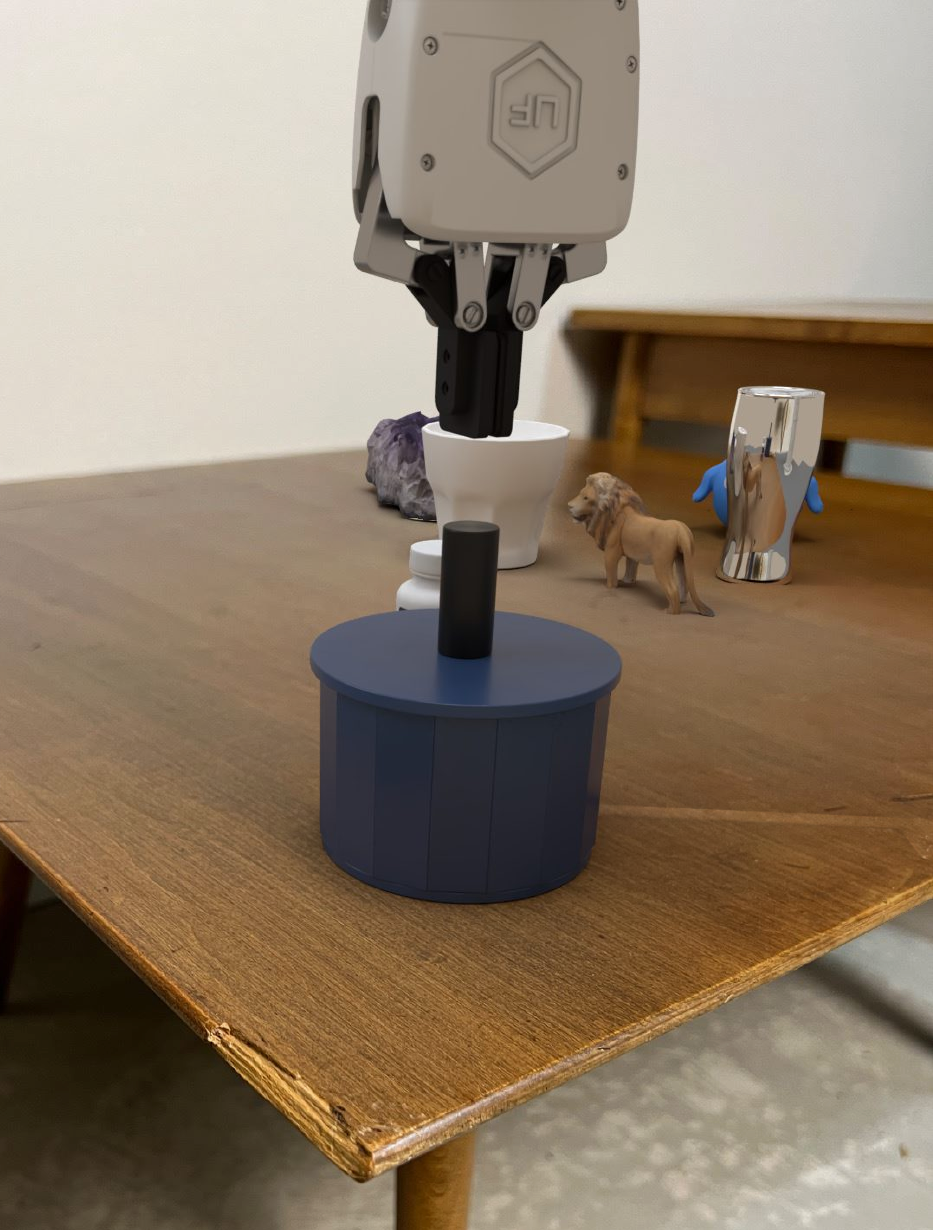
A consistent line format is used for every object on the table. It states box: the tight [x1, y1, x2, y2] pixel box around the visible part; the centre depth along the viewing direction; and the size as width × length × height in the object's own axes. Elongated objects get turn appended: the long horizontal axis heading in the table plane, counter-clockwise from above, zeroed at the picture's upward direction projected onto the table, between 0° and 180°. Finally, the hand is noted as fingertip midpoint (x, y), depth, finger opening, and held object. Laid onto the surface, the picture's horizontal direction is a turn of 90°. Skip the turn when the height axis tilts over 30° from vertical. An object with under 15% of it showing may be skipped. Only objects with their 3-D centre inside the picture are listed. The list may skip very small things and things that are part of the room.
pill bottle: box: [395, 539, 442, 611], centre depth 71 cm, size 5×5×10 cm
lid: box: [309, 520, 623, 719], centre depth 52 cm, size 14×14×7 cm
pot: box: [319, 680, 612, 904], centre depth 55 cm, size 13×13×8 cm
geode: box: [364, 410, 439, 521], centre depth 127 cm, size 20×12×10 cm, turn 7°
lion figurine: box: [567, 472, 715, 617], centre depth 93 cm, size 15×5×9 cm, turn 33°
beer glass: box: [715, 385, 826, 586], centre depth 99 cm, size 7×7×15 cm
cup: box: [422, 419, 571, 570], centre depth 105 cm, size 12×12×11 cm
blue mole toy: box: [692, 459, 824, 527], centre depth 114 cm, size 12×12×8 cm
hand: (474, 432), depth 49 cm, fingers closed
